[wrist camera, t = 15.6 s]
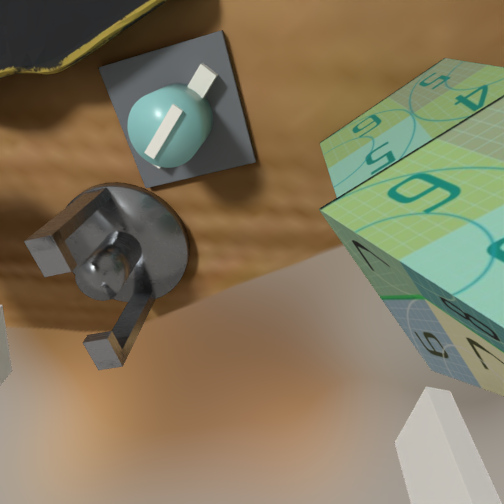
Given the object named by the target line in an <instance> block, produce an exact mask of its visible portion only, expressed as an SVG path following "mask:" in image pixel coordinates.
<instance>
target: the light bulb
mask: <svg viewBox="0 0 504 504" xmlns="http://www.w3.org/2000/svg"><path fill="white" fill-rule="evenodd" d="M217 76H218V74H217V73H216V72H214V71H213V70H212V69H210V68H209V67H208V66H207V65H205V64H204V63H201V64H200V66H199V67H198V69H197V71H196V72H195V74H194V76H193V78H192V79H191V81H190V83H189V84H188V85H187V84H183V83H175V84H170V85H168V86H165V87H163V88H161V89H159V90H156V91H154V92H152V93H150V94H147V95H145V96H143V97H142V98H140V99H139V100H138V101H137V102H136V103H135V104H134V106H133V107H132V109H131V111H130V113H129V117H128V127H127V128H128V134H129V138H130V141H131V143H132V145H133V147H134V148H135V150H136V151H137V152H138V154H139V155H140V156H141V157H142V158H144V159H145V160H146V161H148V162H149V163H151V164H153V165H154V166H156V167H157V168H159V169H160V168H161V167H164V168H172V167H178V166H180V165H183V164H185V163H186V162H188V161H189V160H190V159H191V158H192V157H193V156H194V154H195V153H196V152H197V150H198V149H199V148H200V146H201V145H202V144H203V142H204V141H205V140H206V138H207V137H208V135H209V134H210V131H211V129H212V124H213V114H212V110H211V107H210V104H209V102H208V100H207V99H206V97H205V96H206V94H207V92H208V91H209V89H210V87H211V86H212V84H213V83H214V81H215V79H216V78H217Z"/></svg>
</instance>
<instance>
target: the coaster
mask: <svg viewBox="0 0 504 504" xmlns="http://www.w3.org/2000/svg"><path fill="white" fill-rule="evenodd" d="M201 63H204V64H205V65H207V66H208V67H209V68H210V69H212V70H213V71H214V72H216V73H217V74H218V76H217V78H216V79H215V81H214V83H213V84H212V86H211V87H210V89H209V91H208V92H207V94H206V96H205V97H206V99H207V100H208V102H209V104H210V107H211V110H212V114H213V124H212V129H211V131H210V134H209V135H208V137H207V138H206V140H205V141H204V142H203V144H202V145H201V146H200V148H199V149H198V150H197V152H196V153H195V154H194V156H193V157H192V158H191V159H190V160H189V161H188V162H186V163H185V164H183V165H180V166H178V167H172V168H164V167H161V168H160V169H159V168H157V167H156V166H154V165H153V164H151V163H149V162H148V161H146V160H145V159H144V158H142V157H141V156H140V155H139V154H138V152H137V151H136V150H135V148H134V147H133V145H132V143H131V141H130V138H129V134H128V128H127V127H128V117H129V113H130V111H131V109H132V107H133V106H134V104H135V103H136V102H137V101H138V100H139V99H140V98H142V97H143V96H145V95H147V94H150V93H152V92H154V91H156V90H159V89H161V88H163V87H165V86H168V85H170V84H175V83H183V84H187V85H188V84H189V83H190V81H191V79H192V78H193V76H194V74H195V72H196V71H197V69H198V67H199V66H200V64H201ZM98 69H99V71H100V74H101V76H102V79H103V81H104V84H105V86H106V89H107V91H108V94H109V96H110V99H111V101H112V104H113V107H114V109H115V112H116V114H117V117H118V119H119V122H120V124H121V127H122V129H123V132H124V134H125V137H126V139H127V142H128V144H129V147H130V149H131V152H132V154H133V157H134V159H135V162H136V165H137V167H138V170H139V172H140V175H141V177H142V180H143V182H144V185H145V187H146V188H149V187H153V186H157V185H162V184H166V183H170V182H174V181H179V180H183V179H187V178H191V177H196V176H200V175H204V174H208V173H212V172H217V171H221V170H225V169H229V168H234V167H238V166H242V165H246V164H251V163H255V162H256V159H255V155H254V151H253V147H252V143H251V139H250V135H249V131H248V127H247V124H246V120H245V116H244V112H243V108H242V104H241V100H240V96H239V92H238V89H237V85H236V81H235V77H234V73H233V69H232V65H231V61H230V57H229V53H228V50H227V46H226V42H225V38H224V34H223V30H221V31H218V32H215V33H211V34H208V35H205V36H201V37H198V38H195V39H191V40H188V41H185V42H181V43H178V44H175V45H172V46H168V47H165V48H162V49H158V50H155V51H152V52H148V53H145V54H142V55H138V56H135V57H132V58H129V59H125V60H122V61H119V62H115V63H112V64H109V65H105V66H102V67H99V68H98Z"/></svg>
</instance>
